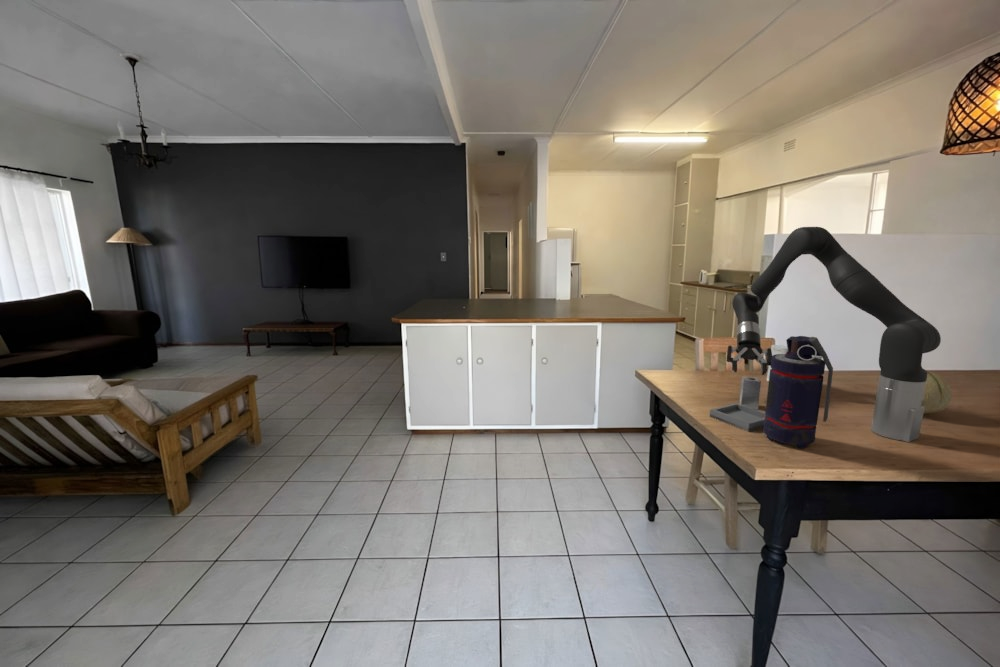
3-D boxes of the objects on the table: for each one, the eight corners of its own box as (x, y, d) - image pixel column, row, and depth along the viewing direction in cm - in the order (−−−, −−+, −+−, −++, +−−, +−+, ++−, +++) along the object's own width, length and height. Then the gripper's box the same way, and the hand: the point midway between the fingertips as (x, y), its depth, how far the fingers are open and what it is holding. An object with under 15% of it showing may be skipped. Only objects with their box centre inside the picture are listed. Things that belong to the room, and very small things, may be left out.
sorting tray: (775, 423, 123) (776, 416, 122) (748, 431, 117) (749, 423, 117) (735, 409, 134) (736, 403, 134) (709, 416, 129) (710, 409, 129)
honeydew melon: (942, 425, 120) (951, 378, 117) (878, 410, 132) (885, 367, 129) (952, 414, 128) (961, 370, 125) (890, 401, 140) (897, 361, 137)
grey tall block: (755, 404, 139) (758, 377, 137) (757, 409, 135) (760, 381, 133) (739, 402, 141) (742, 375, 139) (740, 407, 137) (743, 379, 135)
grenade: (758, 439, 112) (769, 337, 106) (767, 427, 120) (779, 331, 115) (819, 456, 102) (835, 344, 97) (825, 441, 110) (840, 337, 105)
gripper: (728, 329, 149) (728, 365, 141) (772, 331, 143) (775, 369, 135) (725, 340, 155) (725, 375, 147) (768, 342, 149) (770, 379, 141)
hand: (749, 372), depth 141 cm, fingers open, 8 cm apart
